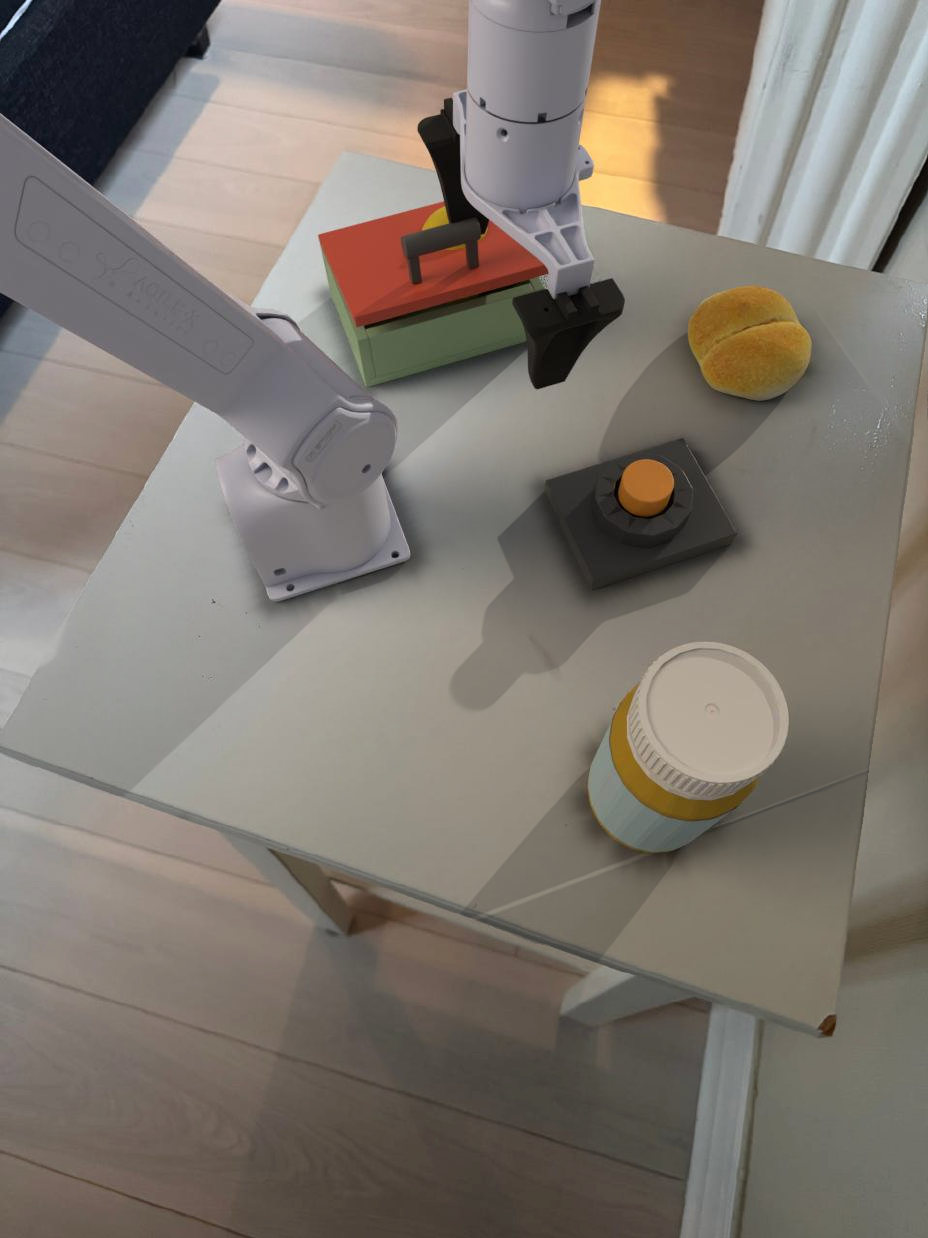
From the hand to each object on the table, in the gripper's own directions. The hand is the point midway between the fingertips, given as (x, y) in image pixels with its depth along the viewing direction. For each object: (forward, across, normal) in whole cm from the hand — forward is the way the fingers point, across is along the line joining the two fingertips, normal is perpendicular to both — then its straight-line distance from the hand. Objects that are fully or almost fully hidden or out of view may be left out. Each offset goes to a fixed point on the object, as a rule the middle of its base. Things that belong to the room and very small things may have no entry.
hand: (507, 306), depth 51 cm
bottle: (+9, -29, +3) cm, 31 cm away
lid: (+3, +9, +2) cm, 10 cm away
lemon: (+4, +10, 0) cm, 11 cm away
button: (+6, -12, -5) cm, 15 cm away
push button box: (+8, -12, -5) cm, 16 cm away
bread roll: (+8, -3, -18) cm, 20 cm away
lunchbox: (+9, +9, +2) cm, 13 cm away
